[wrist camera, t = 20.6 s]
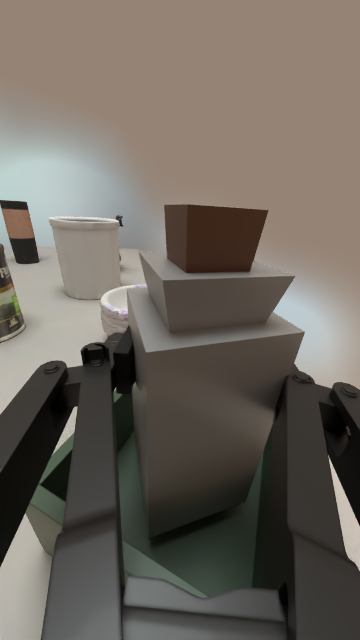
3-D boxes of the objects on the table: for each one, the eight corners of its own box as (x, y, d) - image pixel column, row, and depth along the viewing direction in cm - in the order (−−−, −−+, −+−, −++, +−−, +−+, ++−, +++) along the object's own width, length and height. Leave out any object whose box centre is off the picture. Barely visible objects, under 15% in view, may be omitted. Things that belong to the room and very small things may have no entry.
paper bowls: (177, 316, 48) (179, 280, 44) (207, 357, 35) (213, 311, 31) (102, 323, 43) (98, 283, 39) (106, 373, 30) (100, 321, 27)
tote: (256, 717, 10) (301, 696, 7) (43, 549, 15) (14, 492, 12) (271, 443, 22) (290, 393, 19) (152, 397, 27) (153, 351, 24)
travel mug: (10, 262, 81) (-7, 199, 72) (30, 258, 87) (17, 201, 78) (25, 265, 78) (9, 200, 69) (44, 261, 84) (32, 202, 76)
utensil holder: (114, 303, 52) (108, 222, 44) (51, 299, 52) (33, 217, 44) (128, 284, 65) (125, 219, 58) (78, 281, 65) (68, 215, 57)
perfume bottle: (206, 421, 21) (239, 210, 13) (245, 501, 15) (345, 214, 7) (134, 438, 19) (121, 202, 11) (148, 538, 13) (143, 199, 5)
